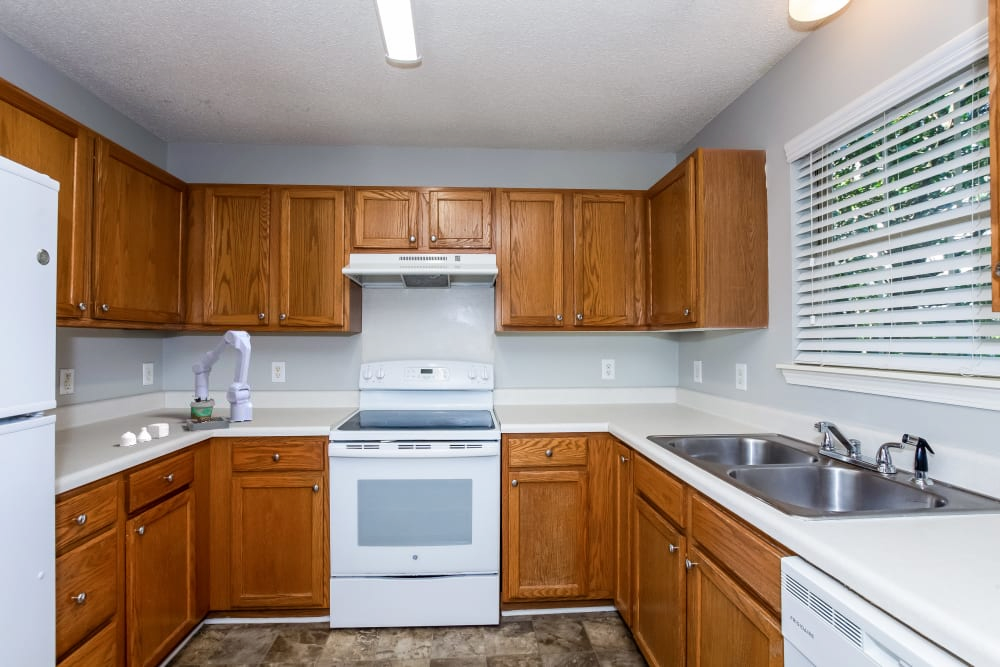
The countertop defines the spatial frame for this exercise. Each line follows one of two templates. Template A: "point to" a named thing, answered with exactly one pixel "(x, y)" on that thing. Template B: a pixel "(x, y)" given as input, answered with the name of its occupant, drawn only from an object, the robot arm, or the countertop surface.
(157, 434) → the container set
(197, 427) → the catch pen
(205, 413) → the food container
